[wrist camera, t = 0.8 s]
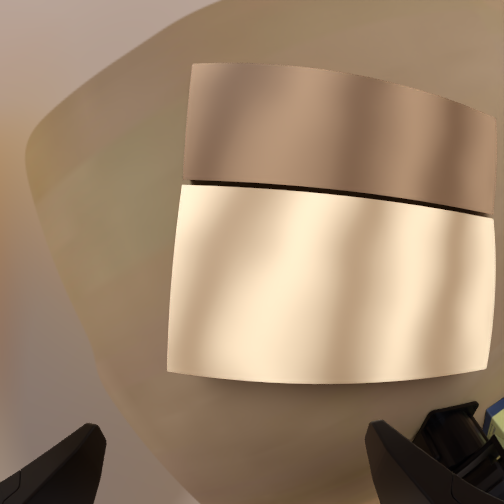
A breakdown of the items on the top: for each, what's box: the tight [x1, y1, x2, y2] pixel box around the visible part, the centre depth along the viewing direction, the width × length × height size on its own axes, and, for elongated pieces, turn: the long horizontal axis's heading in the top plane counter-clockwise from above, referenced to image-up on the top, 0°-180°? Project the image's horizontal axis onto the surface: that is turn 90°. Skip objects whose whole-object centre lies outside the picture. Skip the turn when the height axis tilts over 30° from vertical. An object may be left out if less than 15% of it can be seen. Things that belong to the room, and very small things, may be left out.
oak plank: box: [167, 185, 495, 384], centre depth 16 cm, size 20×10×2 cm, turn 87°
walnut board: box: [183, 63, 497, 215], centre depth 15 cm, size 20×7×2 cm, turn 87°
